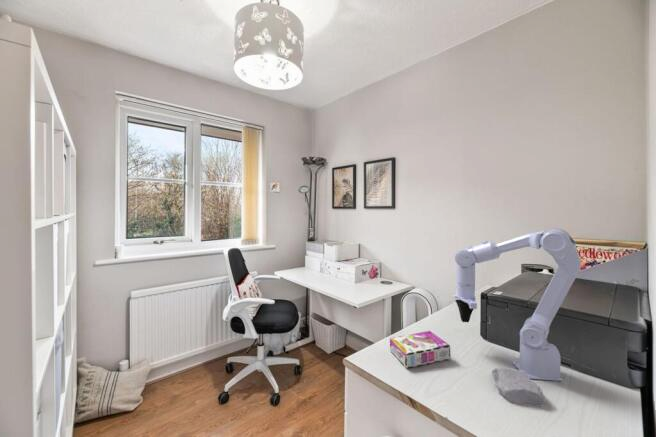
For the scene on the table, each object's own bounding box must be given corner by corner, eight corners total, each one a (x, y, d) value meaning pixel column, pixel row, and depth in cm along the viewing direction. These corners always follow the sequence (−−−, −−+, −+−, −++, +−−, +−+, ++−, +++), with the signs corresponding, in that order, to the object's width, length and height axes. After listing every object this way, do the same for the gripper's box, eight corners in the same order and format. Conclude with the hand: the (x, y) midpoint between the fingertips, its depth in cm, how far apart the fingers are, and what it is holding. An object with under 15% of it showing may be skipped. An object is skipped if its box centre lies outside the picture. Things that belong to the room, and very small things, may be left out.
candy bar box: (450, 344, 90) (405, 354, 86) (451, 359, 90) (406, 369, 86) (429, 329, 101) (388, 337, 97) (430, 342, 101) (389, 351, 97)
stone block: (506, 410, 71) (549, 407, 69) (502, 392, 71) (545, 388, 70) (488, 383, 83) (524, 379, 81) (484, 367, 83) (521, 363, 81)
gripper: (447, 277, 104) (446, 312, 105) (461, 289, 90) (460, 330, 90) (467, 278, 103) (466, 313, 104) (484, 290, 89) (483, 331, 90)
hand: (465, 321), depth 97 cm, fingers closed
